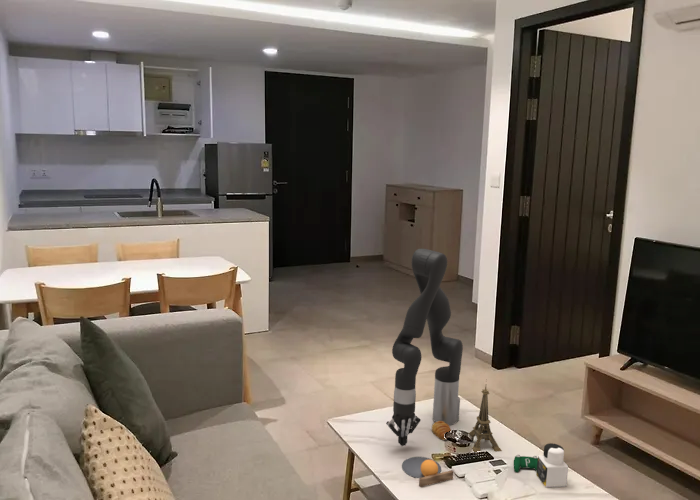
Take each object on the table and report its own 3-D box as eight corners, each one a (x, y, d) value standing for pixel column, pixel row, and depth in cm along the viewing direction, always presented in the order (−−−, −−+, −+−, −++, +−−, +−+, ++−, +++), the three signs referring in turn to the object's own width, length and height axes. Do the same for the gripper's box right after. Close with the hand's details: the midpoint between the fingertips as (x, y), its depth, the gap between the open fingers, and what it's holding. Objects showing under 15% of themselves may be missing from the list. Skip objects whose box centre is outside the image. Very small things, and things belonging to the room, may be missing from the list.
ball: (430, 458, 194) (438, 457, 190) (435, 476, 193) (443, 475, 188) (415, 462, 192) (423, 461, 187) (420, 480, 190) (427, 479, 186)
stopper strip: (451, 477, 190) (451, 470, 190) (452, 478, 190) (453, 471, 189) (419, 485, 186) (419, 478, 185) (420, 487, 185) (421, 479, 184)
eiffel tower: (501, 451, 208) (507, 384, 203) (473, 453, 205) (478, 386, 201) (489, 436, 218) (493, 372, 213) (462, 438, 216) (466, 374, 211)
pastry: (455, 441, 214) (456, 431, 213) (437, 442, 213) (438, 432, 212) (446, 428, 223) (447, 419, 222) (429, 429, 222) (430, 420, 221)
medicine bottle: (535, 475, 193) (538, 441, 191) (556, 474, 194) (560, 440, 192) (545, 487, 186) (548, 452, 184) (566, 486, 187) (570, 452, 185)
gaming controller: (541, 476, 196) (539, 458, 199) (543, 473, 193) (541, 454, 196) (512, 474, 197) (511, 456, 200) (514, 471, 193) (513, 453, 197)
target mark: (427, 454, 204) (428, 453, 204) (449, 473, 192) (449, 473, 192) (394, 461, 199) (394, 461, 199) (414, 482, 187) (414, 481, 187)
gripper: (415, 391, 210) (413, 436, 213) (382, 397, 204) (380, 443, 208) (426, 400, 203) (424, 446, 206) (392, 406, 198) (390, 453, 201)
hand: (402, 444), depth 207 cm, fingers closed
